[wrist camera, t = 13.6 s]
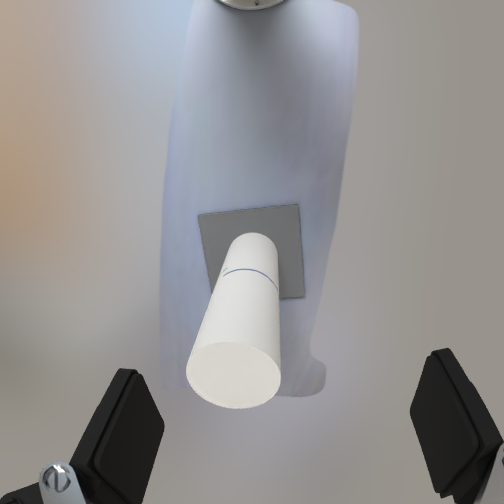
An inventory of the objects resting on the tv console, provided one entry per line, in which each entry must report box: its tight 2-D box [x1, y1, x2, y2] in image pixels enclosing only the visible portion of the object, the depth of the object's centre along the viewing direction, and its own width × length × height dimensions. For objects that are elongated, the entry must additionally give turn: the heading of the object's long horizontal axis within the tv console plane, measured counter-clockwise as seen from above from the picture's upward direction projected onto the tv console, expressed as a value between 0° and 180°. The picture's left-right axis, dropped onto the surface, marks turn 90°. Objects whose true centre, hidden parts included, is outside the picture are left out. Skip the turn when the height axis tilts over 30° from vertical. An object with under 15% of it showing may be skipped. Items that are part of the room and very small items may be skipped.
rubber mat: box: [198, 204, 304, 299], centre depth 46 cm, size 14×14×1 cm
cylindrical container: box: [186, 233, 281, 409], centre depth 34 cm, size 7×7×25 cm
